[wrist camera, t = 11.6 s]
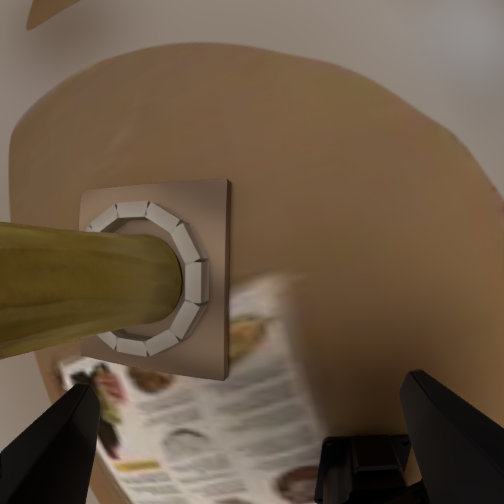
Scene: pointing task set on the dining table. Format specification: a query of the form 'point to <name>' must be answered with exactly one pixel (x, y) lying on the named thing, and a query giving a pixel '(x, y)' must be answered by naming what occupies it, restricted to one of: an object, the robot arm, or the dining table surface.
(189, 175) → the dining table surface
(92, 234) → the vase
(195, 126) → the dining table surface
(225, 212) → the socket board
